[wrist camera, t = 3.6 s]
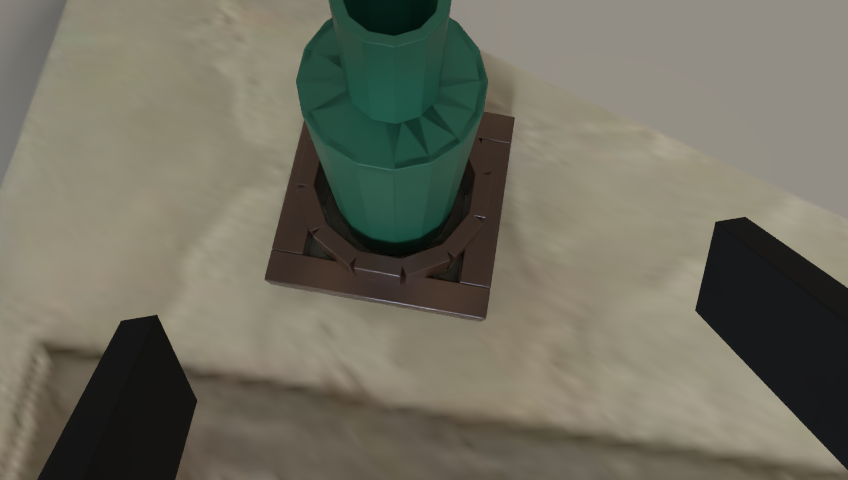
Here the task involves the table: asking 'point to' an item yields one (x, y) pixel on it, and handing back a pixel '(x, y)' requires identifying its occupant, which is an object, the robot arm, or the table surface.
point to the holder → (389, 275)
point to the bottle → (392, 115)
